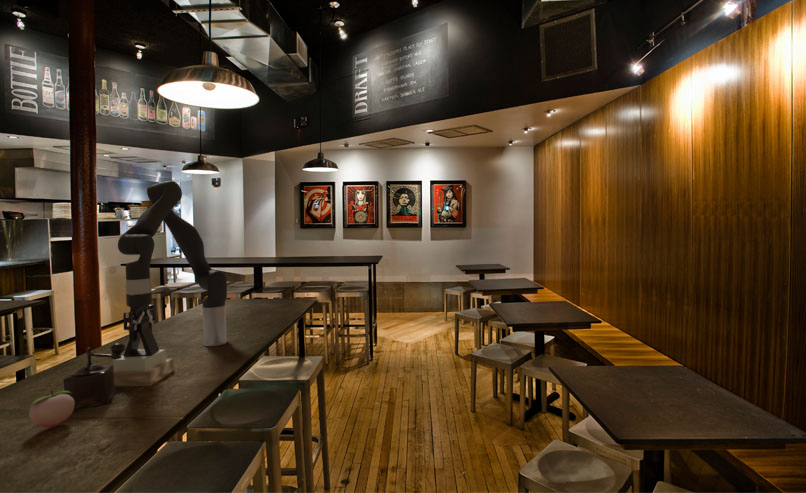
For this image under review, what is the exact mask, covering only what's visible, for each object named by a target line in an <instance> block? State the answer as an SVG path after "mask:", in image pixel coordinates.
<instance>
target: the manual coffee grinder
mask: <svg viewBox="0 0 806 493" xmlns="http://www.w3.org/2000/svg"><path fill="white" fill-rule="evenodd" d="M85 350H86V353H85V356H87V359H86V360H87V362H86V363H87V364H86V365H83V366H82V367H78V368H75V369H74V370H72V371H71V372H70V373H69V374H68V375H67V376H65V377H64V378H63V391H69V392H71V393H66V394H68V395H70V396H71V397H72V398H73V399H74V402H75V405H74V410H80V409H88V408H92V407H97V406H101V405H106V404H108V403H109V402H110V401H111V400H112V398H113V397H114V396H115V392H116V389H115V388H116V386H115V385H114V364H112V363H111V364H103V365H101V364H97V363H93V362H92V357H96V358H97V357H98V358H110V359H112V360H113V359H114V360H115V359H120V358H121V356H122V354H123V352H125V350H126V345H125V344H124V343H122V342H116V343H115V342H114V343H113V344H112V345H110V351H111V353H112V354H110V353H109V354H108V353H107V354H106V353H93V352H92V347H87V348H86V349H85Z"/></svg>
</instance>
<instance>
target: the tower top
mask: <svg viewBox="0 0 806 493" xmlns="http://www.w3.org/2000/svg"><path fill="white" fill-rule="evenodd" d="M138 350H145V349H140V348H138ZM123 355H124V354H121V358H120V359H115V360H114V359H112V362H113V364H114V371H147V370H149V369H151V368H153V367H154V366H156V365H158V364H160V363H162V362H164V361H166V359H167V354H166V349H159V351H157V352H156V353H154V354H153V355H152V356H135V357H124V356H123Z"/></svg>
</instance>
